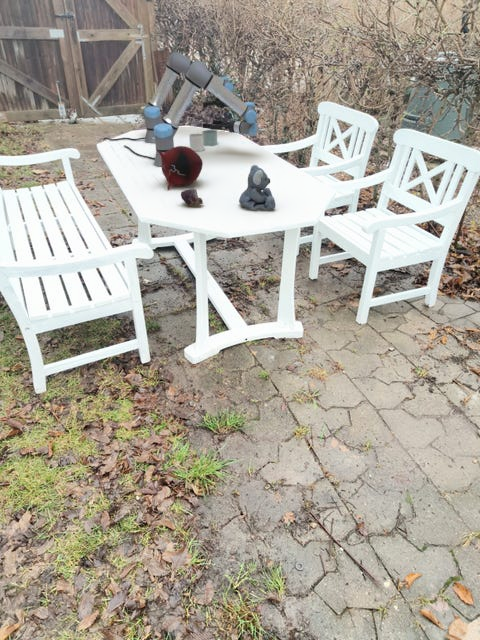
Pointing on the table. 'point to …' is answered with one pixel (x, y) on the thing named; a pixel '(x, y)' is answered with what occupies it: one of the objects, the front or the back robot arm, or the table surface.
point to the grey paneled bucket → (196, 142)
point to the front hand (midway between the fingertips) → (208, 123)
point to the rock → (191, 197)
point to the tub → (209, 137)
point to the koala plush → (257, 191)
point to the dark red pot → (181, 165)
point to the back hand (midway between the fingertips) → (212, 106)
